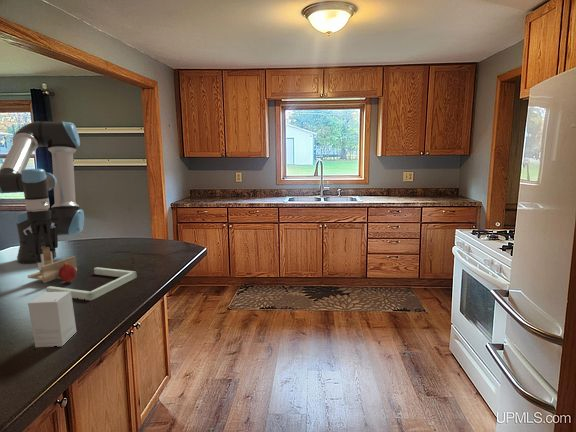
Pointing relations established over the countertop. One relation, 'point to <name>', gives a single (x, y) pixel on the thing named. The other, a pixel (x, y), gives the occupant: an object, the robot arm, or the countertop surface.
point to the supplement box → (52, 319)
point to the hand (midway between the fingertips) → (46, 268)
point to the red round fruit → (67, 273)
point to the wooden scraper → (51, 266)
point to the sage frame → (90, 295)
